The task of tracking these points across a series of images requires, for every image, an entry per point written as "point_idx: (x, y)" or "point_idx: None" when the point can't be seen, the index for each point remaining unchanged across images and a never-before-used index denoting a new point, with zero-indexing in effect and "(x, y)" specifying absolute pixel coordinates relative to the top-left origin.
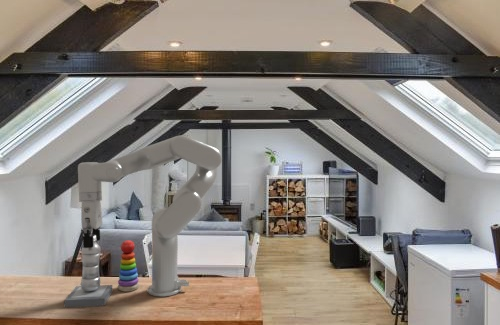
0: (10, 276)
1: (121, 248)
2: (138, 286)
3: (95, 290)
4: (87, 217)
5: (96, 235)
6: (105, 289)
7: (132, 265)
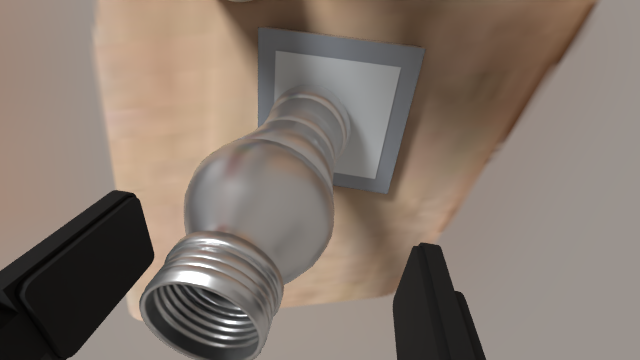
0: (135, 314)
1: None
2: None
3: None
4: None
5: (100, 259)
6: (314, 55)
7: None
